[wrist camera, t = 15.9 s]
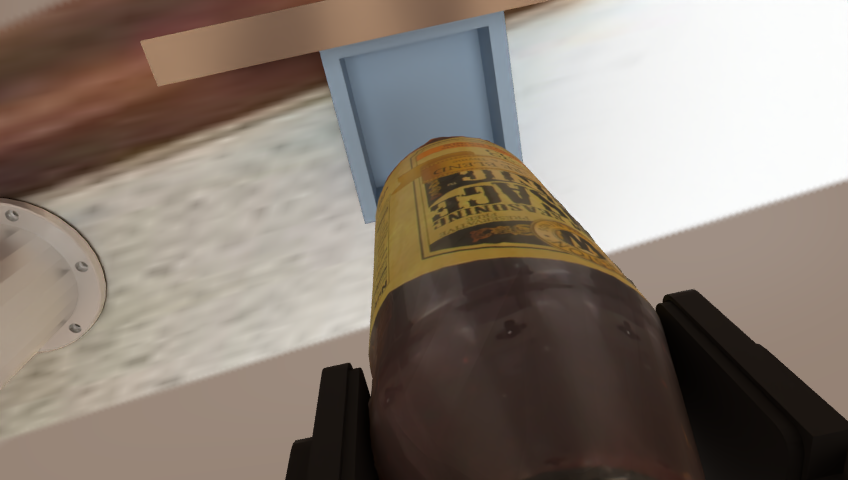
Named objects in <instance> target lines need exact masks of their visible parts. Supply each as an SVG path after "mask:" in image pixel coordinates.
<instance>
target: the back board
mask: <svg viewBox="0 0 848 480" xmlns="http://www.w3.org/2000/svg"><path fill="white" fill-rule="evenodd" d="M545 1H550V0H325V1H321V2H316V3H311V4H307V5H302V6H298V7H293V8H289V9H284V10H280V11H275V12H270V13H266V14H261V15H257V16H252V17H248V18H243V19H239V20H234V21H229V22H225V23H220V24H216V25H211V26H207V27H202V28H198V29H193V30H188V31H184V32H179V33H175V34H170V35H166V36H161V37H157V38H152V39H147V40H143V41H140V42H141V45H142V47H143V50H144V53H145V55H146V58H147V60H148V63H149V65H150V68H151V70H152V73H153V75H154V78H155V80H156V83H157V85H158V86H162V85H167V84H171V83H176V82H180V81H185V80H190V79H194V78H199V77H203V76H208V75H212V74H217V73H222V72H226V71H231V70H235V69H240V68H244V67H249V66H253V65H258V64H263V63H267V62H272V61H276V60H281V59H285V58H290V57H294V56H299V55H304V54H308V53H313V52H317V51H322V50H326V49H331V48H335V47H340V46H345V45H349V44H354V43H358V42H363V41H367V40H372V39H376V38H381V37H386V36H390V35H395V34H399V33H404V32H408V31H413V30H418V29H422V28H427V27H431V26H436V25H440V24H445V23H449V22H454V21H459V20H463V19H468V18H472V17H477V16H481V15H486V14H490V13H495V12H500V11H504V10H509V9H513V8H518V7H522V6H527V5H531V4H536V3H541V2H545Z"/></svg>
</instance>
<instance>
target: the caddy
mask: <svg viewBox="0 0 848 480" xmlns="http://www.w3.org/2000/svg"><path fill="white" fill-rule="evenodd" d="M319 52H320V55H321V59H322V63H323V67H324V70H325V74H326V78H327V82H328V85H329V89H330V93H331V97H332V100H333V104H334V108H335V112H336V115H337V119H338V123H339V127H340V130H341V134H342V138H343V142H344V146H345V149H346V153H347V157H348V161H349V164H350V168H351V172H352V176H353V179H354V183H355V187H356V191H357V194H358V198H359V202H360V206H361V209H362V213H363V217H364V221H365V224H367V223H371V222H376V218H375V217H376V211H377V205H378V200H379V197H380V194H381V192H382V190H383V187H384V185H385V182H386V180H387V178H388V176H389V175H390V173H391V172H392V171H393V170H394V168H395V167H396V166H397V165H398V164H399V163H400V161H401V160H403V159H404V158H405V157H406V156H407V155H408V154H409V153H411V152H412V151H414V150H415V149H417V148H419V147H420V146H422V145H424V144H425V143H427V142H428V141H429V140H430V139H433V138H438V137H451V136H465V137H471V138H481V139H483V140H488V141H490V142H492V143H494V144H496V145H498V146H500V147H502V148H504V149H506V150H507V151H509V152H510V153H512V154H513V155H514V156H516V157H517V158H518V159H519V160H520V161H521V162H522V163H523V160H522V152H521V144H520V136H519V128H518V120H517V112H516V104H515V96H514V88H513V80H512V72H511V64H510V57H509V49H508V41H507V33H506V25H505V17H504V11H500V12H495V13H490V14H486V15H481V16H477V17H472V18H468V19H463V20H459V21H454V22H449V23H445V24H440V25H436V26H431V27H427V28H422V29H418V30H413V31H408V32H404V33H399V34H395V35H390V36H386V37H381V38H376V39H372V40H367V41H363V42H358V43H354V44H349V45H345V46H340V47H335V48H331V49H326V50H322V51H319Z"/></svg>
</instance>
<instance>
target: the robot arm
mask: <svg viewBox="0 0 848 480" xmlns="http://www.w3.org/2000/svg"><path fill="white" fill-rule="evenodd" d="M105 298H106V283H105V278H104V274H103V270H102V267H101V265H100V263H99V261H98V258H97V256H96V255H95V253H94V252H93V250H92V249H91V247H90V246H89V244H88V243H87V242H86V241H85V240H84V239H83V238H82V237H81V236H80V234H79V233H78V232H77V231H76V230H75V229H73V228H72V227H71V226H69V225H68V224H67V223H65V222H64V221H63V220H61V219H60V218H58V217H57V216H55V215H53V214H51V213H49V212H48V211H46V210H44V209H42V208H39V207H36V206H34V205H31V204H28V203H25V202H21V201H16V200H12V199H7V198H0V390H1V389H2V388H3V387H4V386H5V385H6V384H7V383H8V382H9V381H10V380H11V379H12V378H13V377H14V376H15V375H16V374H17V373H18V372H19V370H20V369H21V368H22V367H23V366H24V365H25V364H26V363H27V362H28V361H29V360H30V359H31V358H32V357H33V356H34V355H35V354H36V353H42V352H49V351H53V350H56V349H60V348H63V347H65V346H67V345H69V344H71V343H73V342H75V341H77V340H78V339H79V338H80V337H81V336H83V335H84V334H85V333H86V332H87V331H88V330H89V329H90V328H91V327H92V325H93V324H94V323H95V322H96V321H97V319H98V317H99V315H100V313H101V311H102V309H103V306H104V302H105ZM656 313H657V314H658V316H659V318H660V320H661V323H662V326H663V329H664V332H665V336H666V339H667V343H668V347H669V350H670V354H671V357H672V361H673V364H674V368H675V371H676V375H677V379H678V382H679V386H680V389H681V393H682V396H683V400H684V403H685V407H686V411H687V414H688V418H689V421H690V425H691V428H692V432H693V435H694V439H695V443H696V446H697V450H698V453H699V457H700V461H701V464H702V468H703V471H704V475H705V479H706V480H848V421H847V420H846V419H845V418H844V417H843V416H841V415H840V414H839V413H838V412H837V411H836V410H835V409H834V408H832V407H831V406H830V405H829V404H827V402H826V401H824V400H823V399H822V398H821V397H820V396H819V395H818V394H817V393H815V392H814V391H813V390H812V389H811V388H810V387H808V386H807V385H806V384H805V383H804V382H803V381H802V380H801V379H800V378H798V377H797V376H796V375H795V374H794V373H793V372H792V371H790V370H789V369H788V368H787V367H786V366H785V365H784V364H783V363H781V362H780V361H779V360H778V359H777V358H776V357H775V356H774V355H772V354H771V353H770V352H769V351H768V350H767V349H765V348H764V347H763V346H761V345H760V344H756V343H755V342H754V341H753V340H751V339H750V338H749V337H748V336H747V335H746V334H744V333H743V332H742V331H741V330H740V329H739V328H738V327H737V326H736V325H735V324H733V323H732V322H731V321H730V320H729V319H728V318H727V317H725V315H723V314H722V313H721V312H720V311H719V310H718V309H717V308H716V307H714V306H713V305H712V304H711V303H710V302H709V301H708V300H707V299H706V298H704V297H703V296H702V295H701V294H700V293H699V292H698V291H696V290H693V289H691V290H686V291H681V292H677V293H672V294H667V295H665V296H664V298H663V303H659V304H658V305H657V306H656ZM369 399H370V394H369V390H368V387H367V384H366V380H365V377H364V374H363V371H362V369H361V368H355V369H353V368H352V365H351V364H350V363H345V364H341V365H336V366H332V367H327V368H324V369H323V370H322V376H321V382H320V389H319V396H318V403H317V410H316V416H315V423H314V430H313V436H312V437H310V438H305V439H300V440H296V441H295V442H294V443H293V446H292V449H291V453H290V458H289V463H288V469H287V474H286V479H285V480H379V477H378V474H377V471H376V469H375V467H374V460H373V458H374V456H373V453H372V450H371V439H370V422H369V421H370V419H369V407H368V402H369Z"/></svg>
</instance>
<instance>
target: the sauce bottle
mask: <svg viewBox="0 0 848 480" xmlns="http://www.w3.org/2000/svg"><path fill="white" fill-rule="evenodd" d="M375 218H376V225H375V248H374V273H373V291H372V307H371V320H370V339H369V362H370V369H371V374H372V378H373V379H372V391H371V397H370V399H369V402H368V407H369V419H370V421H369V422H370V439H371V450H372V453H373V456H374V458H373V460H374V467H375V469H376V471H377V474H378V477H379V480H706V479H705V475H704V471H703V468H702V464H701V461H700V457H699V453H698V450H697V446H696V443H695V439H694V435H693V432H692V428H691V425H690V421H689V418H688V414H687V411H686V407H685V403H684V400H683V396H682V393H681V389H680V386H679V382H678V379H677V375H676V371H675V368H674V364H673V361H672V357H671V354H670V350H669V347H668V343H667V339H666V336H665V332H664V329H663V326H662V323H661V320H660V318H659V316H658V314H657V313H656V311H655V310H654V308H653V307H652V306H651V304H650V303H649V302H648V301H647V300H646V299H645V298H644V296H643V295H642V294H641V293H640V292H639V291H638V289H637V288H636V286H635V285H634V284H633V282H632V281H631V280H629V279H628V278H627V277H626V276H625V275H624V274H623V273H622V271H621V270H620V269H619V268H618V266H616V265H615V264H614V263H613V262H612V261H611V260H610V259H609V258H608V256H607V255H606V254H605V253H604V252H603V251H602V250H601V249H600V247H599V246H598V245H597V244H596V243H595V241H594V240H593V239H592V237H591V236H590V234H589V233H588V232H587V231H586V230H584V228H583V227H582V226H581V225H580V224H579V223H578V222H577V221H576V220H575V219H574V218H573V217H572V216H571V215H570V214H569V213H568V211H567V210H566V209H565V208H564V207H563V205H562V204H561V203H560V202H559V201H558V200H557V199H555V198H554V197H553V195H552V194H551V193H550V192H549V191H548V190H547V189H546V188H545V187H544V186H543V184H542V183H541V182H540V181H539V180H538V179H537V178H536V177H535V176H534V174H533V173H532V172H531V171H530V170H529V169H528V168H527V167H526V166H525V165H524V164H523V163H522V162H521V161H520V160H519V159H518V158H517V157H516V156H514V155H513V154H512V153H510V152H509V151H507V150H506V149H504V148H502V147H500V146H498V145H496V144H494V143H492V142H490V141H488V140H483V139H481V138H471V137H465V136H451V137H438V138H433V139H430V140H429V141H428V142H427V143H425V144H424V145H422V146H420V147H419V148H417V149H415V150H414V151H412V152H411V153H409V154H408V155H407V156H406V157H405V158H404V159H403V160H401V161H400V163H399V164H398V165H397V166H396V167H395V168H394V170H393V171H392V172H391V173H390V175H389V176H388V178H387V180H386V182H385V185H384V187H383V190H382V192H381V194H380V197H379V200H378V205H377V211H376V217H375Z"/></svg>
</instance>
